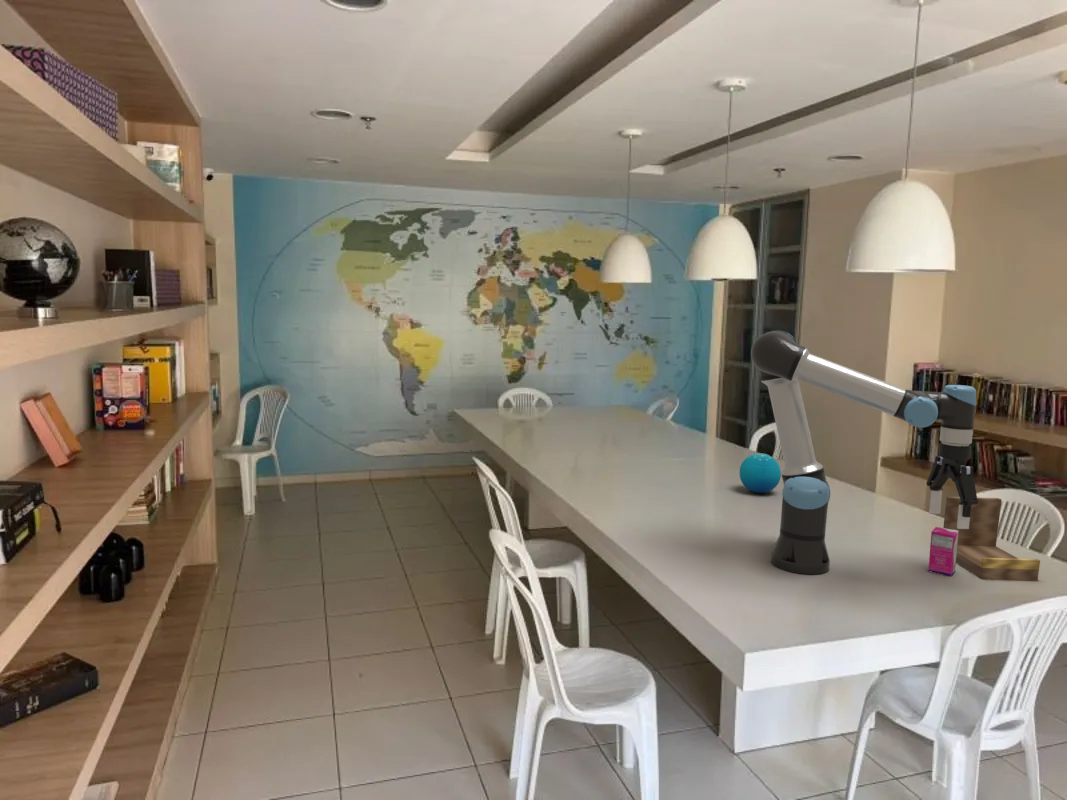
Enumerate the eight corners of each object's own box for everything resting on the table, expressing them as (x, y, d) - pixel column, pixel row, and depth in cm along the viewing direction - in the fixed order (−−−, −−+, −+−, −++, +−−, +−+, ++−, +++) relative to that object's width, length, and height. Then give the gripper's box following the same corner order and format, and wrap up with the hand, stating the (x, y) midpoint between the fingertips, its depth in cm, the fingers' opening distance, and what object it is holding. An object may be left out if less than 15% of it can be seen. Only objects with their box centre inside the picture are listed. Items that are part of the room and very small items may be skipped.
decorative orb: (774, 488, 287) (777, 450, 285) (783, 498, 272) (786, 458, 270) (734, 486, 289) (737, 448, 287) (741, 496, 274) (744, 456, 272)
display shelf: (981, 578, 198) (988, 517, 195) (940, 553, 217) (946, 496, 215) (1037, 580, 198) (1045, 518, 195) (991, 554, 217) (998, 498, 215)
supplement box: (931, 565, 207) (935, 525, 205) (955, 571, 203) (960, 530, 201) (926, 571, 202) (931, 530, 200) (951, 576, 198) (956, 535, 197)
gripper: (998, 453, 185) (990, 535, 188) (943, 435, 210) (937, 508, 213) (968, 452, 185) (960, 535, 188) (917, 434, 210) (910, 507, 213)
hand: (948, 520), depth 200 cm, fingers open, 13 cm apart
